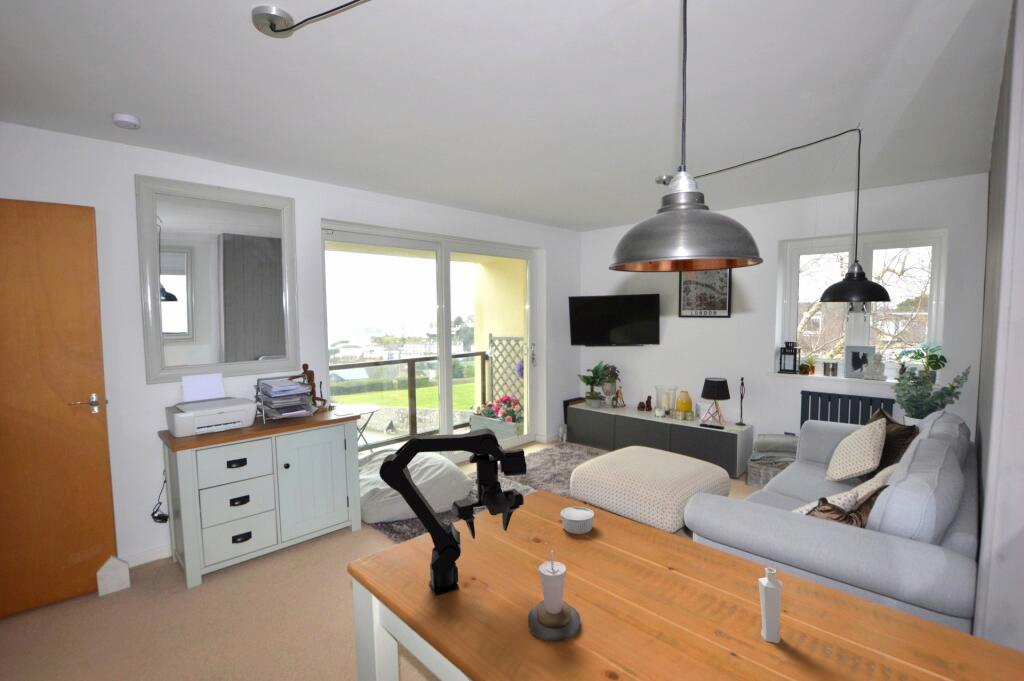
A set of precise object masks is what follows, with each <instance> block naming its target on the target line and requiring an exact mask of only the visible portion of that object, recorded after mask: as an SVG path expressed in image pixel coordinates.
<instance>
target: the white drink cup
mask: <svg viewBox="0 0 1024 681" xmlns="http://www.w3.org/2000/svg"><path fill="white" fill-rule="evenodd" d="M538 574H539V576H540V580H541V587H542V595H543V600H544V602H545V609H546V611H547V612H548V613H551V614H557V613H559V612H560V611H561V609H562V600H563V599H564V588H565V578H566V575H567V568H566V565H565V564H563V563H562V562H559V561H555V560H554V550H553V549H552V550H550V561H548V560H547V561H545V562H542V563H541V564H540V565H539V566H538Z"/></svg>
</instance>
